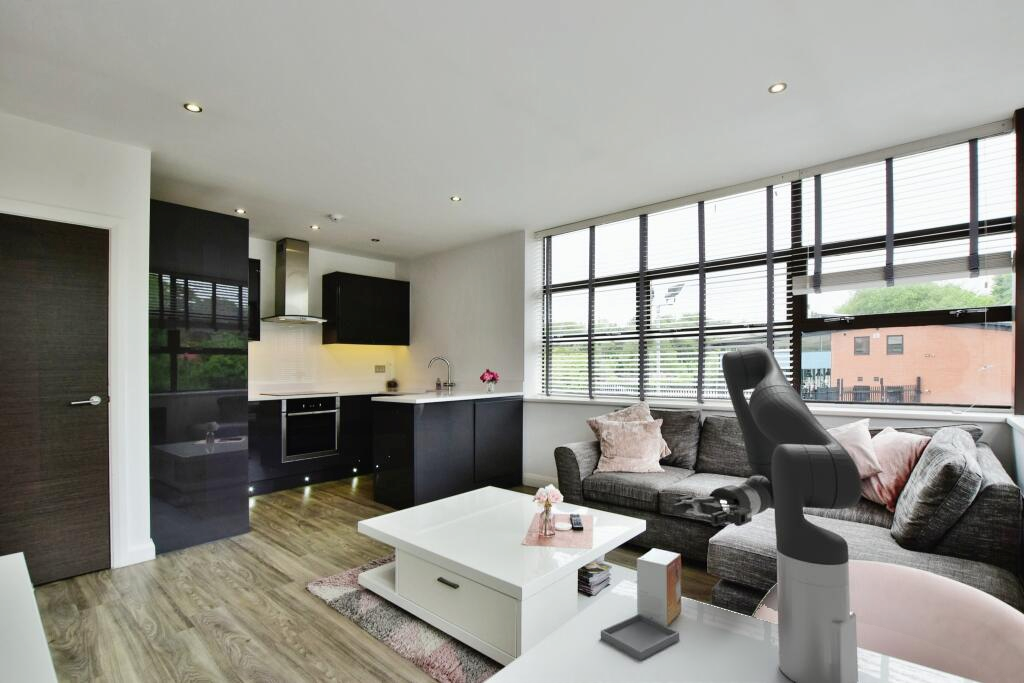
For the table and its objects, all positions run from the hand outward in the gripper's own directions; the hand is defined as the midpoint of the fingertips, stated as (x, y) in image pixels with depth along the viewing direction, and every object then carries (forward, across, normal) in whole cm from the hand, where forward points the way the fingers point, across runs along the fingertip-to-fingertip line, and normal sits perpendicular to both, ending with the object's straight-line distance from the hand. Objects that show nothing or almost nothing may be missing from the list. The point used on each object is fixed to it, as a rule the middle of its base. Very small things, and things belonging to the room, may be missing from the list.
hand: (692, 515), depth 100 cm
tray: (+21, +4, +16) cm, 27 cm away
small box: (+11, 0, +16) cm, 20 cm away
